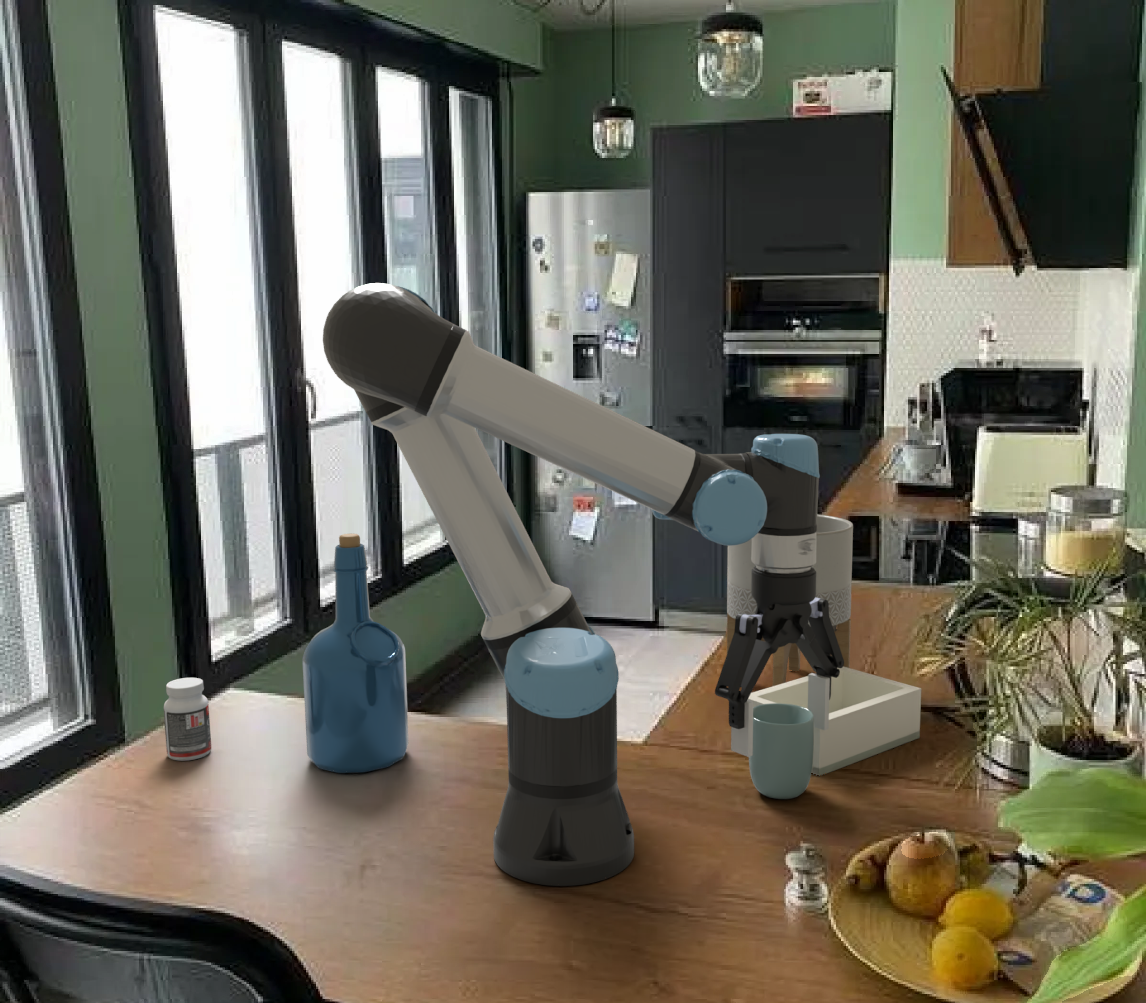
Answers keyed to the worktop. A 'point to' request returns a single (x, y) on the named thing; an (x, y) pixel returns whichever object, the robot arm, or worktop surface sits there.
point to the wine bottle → (354, 678)
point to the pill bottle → (187, 720)
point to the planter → (830, 586)
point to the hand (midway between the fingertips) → (780, 739)
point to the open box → (854, 716)
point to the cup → (782, 749)
